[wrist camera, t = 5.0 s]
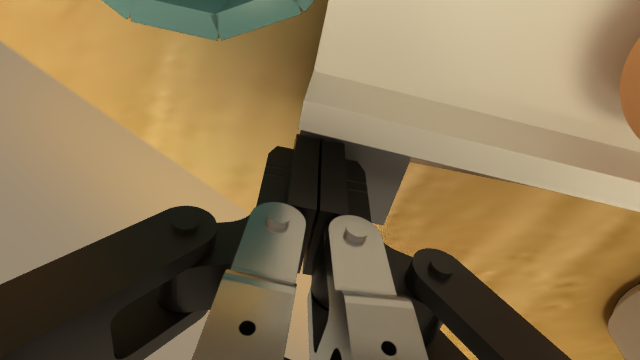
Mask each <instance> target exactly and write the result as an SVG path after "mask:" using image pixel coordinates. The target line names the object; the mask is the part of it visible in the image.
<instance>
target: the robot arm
mask: <svg viewBox="0 0 640 360" xmlns="http://www.w3.org/2000/svg"><path fill="white" fill-rule="evenodd" d="M366 183H367V182H366V174H365V171H364V170H363V168H362V167H361V165H360V164H359V163H358V161H353V160H348V159H345V144H344V143H341V142H336V141H331V140H326V139H321V141H320V145H319V138H315V137H310V136H305V135H300V134H297V135H296V139H295V144H294V149H290V148H285V147H280V146H277V147H276V148H275V149H273V150H272V151H271V152H270V153H269V154H268V158H267V163H266V167H265V171H264V176H263V180H262V184H261V189H260V193H259V197H258V202H257V206H256V208H254V209H253V211H252V212H251V214H250V215H249V216H248V217H246V218H244V219H241V220H238V221H234V222H224V223H216V220H215V218H214V217H213V216H212V215H211V214H210V213H209V212H207V211H205V210H203V209H201V208H198V207H193V206H179V207H174V208H170V209H168V210H165V211H163V212H161V213H159V214H157V215H154V216H152V217H150V218H147V219H145V220H143V221H141V222H139V223H136V224H134V225H132V226H130V227H128V228H125V229H123V230H121V231H119V232H116V233H114V234H112V235H110V236H107V237H105V238H103V239H101V240H99V241H97V242H94V243H92V244H90V245H87V246H85V247H83V248H81V249H79V250H76V251H74V252H72V253H70V254H67V255H65V256H63V257H61V258H58V259H56V260H54V261H52V262H50V263H47V264H45V265H43V266H41V267H38V268H36V269H34V270H32V271H29V272H27V273H25V274H23V275H21V276H19V277H16V278H14V279H12V280H10V281H7V282H5V283H3V284H1V285H0V360H144V359H145V358H146V357H148V356H149V355H150V354H152V353H153V352H155V351H156V350H158V349H159V348H160V347H162V346H163V345H165V344H166V343H167V342H169V341H170V340H172V339H173V338H174V337H176V336H177V335H178V334H180V333H181V332H183V331H184V330H186V329H187V328H188V327H190V326H191V325H193V324H194V323H196V322H197V321H198V320H200V319H201V318H202V317H203V316H204V315H205V314H206V313H207V311H208V310H210V312H209V315H208V317H207V320H206V323H205V325H204V328H203V330H202V333H201V336H200V338H199V341H198V344H197V346H196V349H195V352H194V354H193V357H192V360H290V359H288V358H285V357H284V354H285V349H286V343H287V338H288V332H289V326H290V321H291V315H292V310H293V304H294V298H295V292H296V286H297V284H295V282H296V277H297V273H300V269H301V266H302V262H303V274H307V275H312V284H311V288H310V291H309V294H308V299H307V300H308V301H307V303H308V331H309V332H308V333H309V360H469V359H468V358H467V357H466V356H465V355H464V354H463V353H462V352H461V351H460V350H459V349H458V348H457V347H456V346H455V345H454V344H453V343H452V342H451V341H450V340H449V339H448V338H447V336H446V335H445V334H444V333H443V332H442V331H441V330H440V328H441V326H442V324H443V323H444V324H445V325H446V326H447V327H448V328H449V330H450V331H451V332H452V333H453V334H454V335H455V336H456V337H457V338H458V339H459V340H460V341H461V342H462V343H463V344H464V345H465V346H466V347H467V348H468V349H469V350H470V351H471V352H472V353H473V354H474V355H475V356H476V357H477V358H478V359H479V360H571V359H570V358H569V357H568V356H567V355H566V354H564V353H563V352H562V351H561V350H560V349H559V348H557V347H556V346H555V345H554V344H553V343H552V342H551V341H549V340H548V339H547V338H546V337H545V336H544V335H543V334H541V333H540V332H539V331H538V330H537V329H536V328H535V327H533V326H532V325H531V324H530V323H529V322H528V321H527V320H525V319H524V318H523V317H522V316H521V315H520V314H518V313H517V312H516V311H515V310H514V309H513V308H512V307H510V306H509V305H508V304H507V303H506V302H505V301H504V300H502V299H501V298H500V297H499V296H498V295H497V294H496V293H494V292H493V291H492V290H491V289H490V288H489V287H488V286H486V285H485V284H484V283H483V282H482V281H481V280H479V279H478V278H477V277H476V276H475V275H474V274H473V273H471V272H470V271H469V270H468V269H467V268H466V267H465V266H463V265H462V264H461V263H460V262H459V261H458V260H456V259H455V258H454V257H453V256H451V255H449V254H447V253H445V252H443V251H440V250H437V249H431V248H426V249H422V250H419V251H418V252H416V253H415V254H414V257H411V256H408V255H406V254H403V253H401V252H399V251H396V250H394V249H392V248H390V247H389V246H387V245H386V244H385V243H383V239H382V236H381V233H380V231H379V230H378V229H377V227H376V226H374V225H373V224H372V221H371V213H370V206H369V198H368V193H367V192H368V190H367V185H366ZM303 258H304V260H303Z"/></svg>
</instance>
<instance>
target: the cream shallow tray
mask: <svg viewBox="0 0 640 360" xmlns="http://www.w3.org/2000/svg"><path fill="white" fill-rule="evenodd" d="M639 37H640V0H329V2H328V6H327V11H326V16H325V20H324V25H323V30H322V34H321V39H320V44H319V48H318V53H317V58H316V62H315V67H314V71H313V74H312V77H311V80H310V83H309V86H308V89H307V92H306V95H305V98H304V102H303V107H302V112H301V116H300V121H299V126H298V129H300V130H301V132H300V135H305V136H310V137H315V138H319V145H320V141H321V139H326V140H331V141H336V142H341V143H344V144H345V159H348V160H353V161H358V163H359V164H360V165H361V167H362V168H363V170H364V171H365V174H366V182H367V183H366V185H367V190H368V192H367V193H368V198H369V206H370V213H371V221H372V223H375V224H379V225H384V222H385V220H386V218H387V215H388V213H389V210H390V208H391V205H392V203H393V201H394V198H395V196H396V193H397V191H398V189H399V186H400V184H401V181H402V179H403V176H404V174H405V172H406V169H407V167H408V164H409V162H410V159H411V157H415V158H419V159H423V160H427V161H431V162H435V163H440V164H444V165H448V166H452V167H456V168H460V169H464V170H468V171H473V172H477V173H481V174H485V175H489V176H493V177H497V178H501V179H505V180H510V181H514V182H518V183H522V184H526V185H530V186H534V187H538V188H542V189H547V190H551V191H555V192H559V193H563V194H567V195H571V196H575V197H579V198H584V199H588V200H592V201H596V202H600V203H604V204H608V205H612V206H616V207H621V208H625V209H629V210H633V211H637V212H640V139H639V138H638V137H637V136H636V135H635V133H634V132H633V131H632V129H631V128H630V126H629V124H628V123H627V121H626V119H625V116H624V113H623V110H622V107H621V101H620V81H621V75H622V71H623V67H624V64H625V62H626V59H627V57H628V55H629V53H630V51H631V49H632V48H633V46H634V44H635V43H636V41H637V40H638V39H639Z"/></svg>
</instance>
